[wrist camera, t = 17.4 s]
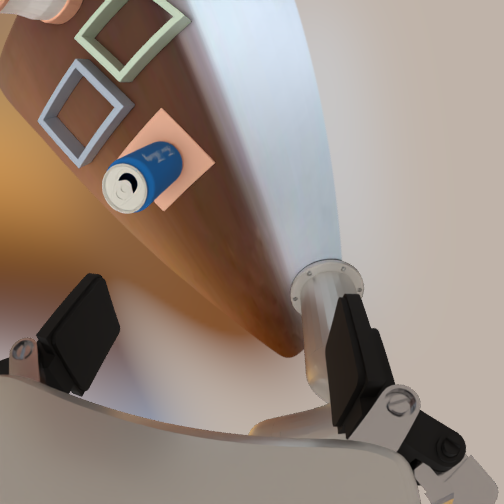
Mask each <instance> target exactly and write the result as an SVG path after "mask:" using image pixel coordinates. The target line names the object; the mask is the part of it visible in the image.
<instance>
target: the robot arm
mask: <svg viewBox="0 0 504 504" xmlns="http://www.w3.org/2000/svg"><path fill="white" fill-rule="evenodd" d="M363 291H364V284H363V280H362V278H361V275H360V274H359V272H358V271H357V269H355V268H354V267H353V266H352V265H350V264H348V263H346V262H343V261H340V260H323V261H319V262H316V263H313V264H311V265H309V266H307V267H306V268H304V269H303V270H302V271H301V272H299V274H298V275H297V276H296V277H295V279H294V281H293V283H292V286H291V291H290V296H291V302H292V305H293V307H294V308H295V310H296V311H297V312H298V313H299V314H300V315H302V327H303V339H304V353H305V365H306V377H307V381H308V384H309V386H310V387H311V389H312V390H313V391H314V392H315V394H316V395H318V396H319V397H320V398H321V399H322V400H324V401H325V402H326V403H328V404H326V405H324V406H321V407H317V408H314V409H311V410H307V411H303V412H299V413H294V414H289V415H285V416H281V417H276V418H272V419H267V420H264V421H262V422H260V423H258V424H256V425H255V426H254V427H253V428H252V429H251V431H250V432H249V434H248V435H239V434H231V433H222V432H215V431H208V430H202V429H195V428H189V427H184V426H179V425H174V424H169V423H164V422H159V421H155V420H151V419H147V418H143V417H139V416H135V415H131V414H128V413H124V412H121V411H117V410H114V409H110V408H107V407H104V406H101V405H98V404H95V403H92V402H89V401H86V400H83V399H81V398H78V397H75V396H72V395H70V394H69V393H70V391H71V392H72V393H73V394H76V395H79V396H83V394H84V392H85V391H87V390H88V389H89V387H90V385H91V383H92V382H93V380H94V378H95V376H96V374H97V372H98V370H99V368H100V367H101V365H102V363H103V361H104V359H105V357H106V355H107V354H108V352H109V350H110V348H111V347H112V345H113V343H114V341H115V340H116V338H117V336H118V334H119V332H120V325H119V322H118V319H117V317H116V313H115V311H114V307H113V304H112V301H111V298H110V295H109V291H108V288H107V285H106V281H105V280H104V279H103V278H102V276H101V275H99V274H91V273H89V274H87V275H86V276H85V277H84V278H83V279H82V280H81V281H80V283H79V284H78V285H77V286H76V287H75V288H74V289H73V291H72V292H71V293H70V294H69V295H68V296H67V298H66V299H65V300H64V301H63V302H62V304H61V305H60V306H59V307H58V308H57V309H56V311H55V312H54V313H53V314H52V316H51V317H50V318H49V319H48V321H47V322H46V323H45V324H44V326H43V327H42V328H41V329H40V331H39V332H38V333H37V335H36V336H37V338H38V341H37V342H36V341H35V340H34V339H32V338H28V337H27V338H22V339H20V340H18V341H17V342H16V343H15V344H14V345H13V346H12V348H11V350H10V354H9V358H6V359H4V360H1V361H0V504H421V500H420V495H419V490H418V486H417V485H421V486H422V487H423V488H424V490H425V491H426V493H425V495H426V496H427V497H428V499H429V500H430V503H431V504H494V503H495V501H496V500H497V497H498V487H497V485H496V483H495V482H494V481H493V480H492V478H491V477H490V476H489V475H488V474H487V473H486V472H485V470H484V469H483V468H482V467H481V466H480V465H479V463H478V462H477V461H476V460H475V459H474V458H473V456H472V455H470V456H469V457H468V456H467V455H466V454H465V452H466V445H465V441H464V439H463V438H462V436H461V435H459V434H458V433H457V432H455V431H454V430H452V429H450V428H448V427H447V426H445V425H444V424H442V423H440V422H439V421H437V420H436V419H434V418H432V417H431V416H429V415H427V414H426V413H424V412H423V411H421V410H420V407H421V404H420V399H419V396H418V395H417V393H416V392H415V391H414V390H413V389H411V388H410V387H407V386H405V385H399V384H397V385H395V382H394V378H393V375H392V372H391V369H390V365H389V362H388V359H387V355H386V352H385V349H384V346H383V343H382V340H381V337H380V334H379V331H378V330H377V329H375V328H371V327H370V324H369V321H368V317H367V314H366V311H365V309H364V306H363V303H362V300H361V298H362V296H363Z"/></svg>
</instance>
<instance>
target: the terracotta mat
mask: <svg viewBox="0 0 504 504" xmlns="http://www.w3.org/2000/svg"><path fill="white" fill-rule="evenodd" d="M158 141H163V142H167V143H170V144H172V145H173V146H174V147H175V148H176V149H177V150H178V151H179V153H180V155H181V157H182V163H183V166H182V171H181V174H180V176H179V177H178V179H177V180H176V181H174V182H173V183H172V184H171V185H170V186H169V187H168V188H167V189H166V190H165V191H164V192H163V193H161V194H160V195H159V196H158V197H157V198H156V199H155V200H154V202H155V203H156V204H157V205H158V206H159V207H160V208H161V209H162V210H163V211H165V210H166V209H167V208H168V207H169V206H170V205H171V204H172V203H173V202H174V201H175V200H176V199H177V198H178V197H179V196H180V195H181V194H182V193H183V192H184V191H185V190H186V189H187V188H188V187H189V186H191V185H192V184H193V183H194V182H195V181H196V180H197V179H198V178H199V177H200V176H201V175H202V174H203V173H204V172H206V171H207V170H208V169H209V168H210V167H211V166H212V165H213V164H214V163H215V161H214V160H213V159H212V158H211V157H210V156H209V155H208V154H207V153H206V152H205V151H204V150H203V149H202V148H201V147H200V146H199V145H198V144H197V143H196V142H195V141H194V139H193V138H192V137H191V136H190V135H189V134H188V133H187V132H186V131H185V130H184V129H183V128H182V127H181V126H180V125H179V124H178V123H177V122H176V121H175V120H174V119H173V118H172V117H171V116H170V115H169V114H168V113H167V112H166V111H165V110H164V109H163V108H161V109H160V110H159V111H158V112H157V113H156V114H155V115H154V116H153V117H152V119H151V120H150V121H149V122H148V123H147V124H146V125H145V126H144V128H143V129H142V130H141V131H140V132H139V133H138V134H137V136H136V137H135V138H134V139H133V140H132V142H131V143H130V144H129V145H128V146H127V148H126V149H125V150H124V151H123V153H122V154H121V155H120V156H119V158H121V157H123V156H125V155H127V154H130V153H132V152H134V151H136V150H138V149H140V148H142V147H145V146H147V145H149V144H151V143H154V142H158ZM119 158H118V159H119Z"/></svg>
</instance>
